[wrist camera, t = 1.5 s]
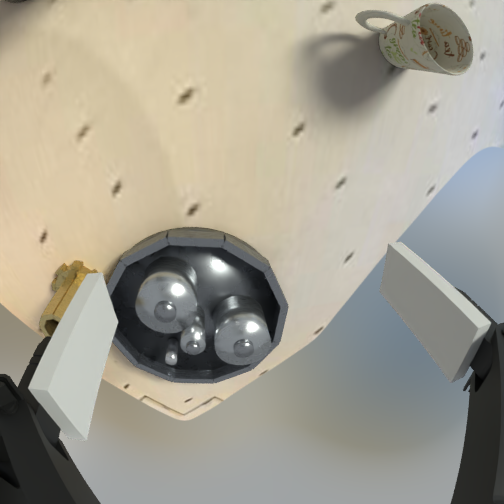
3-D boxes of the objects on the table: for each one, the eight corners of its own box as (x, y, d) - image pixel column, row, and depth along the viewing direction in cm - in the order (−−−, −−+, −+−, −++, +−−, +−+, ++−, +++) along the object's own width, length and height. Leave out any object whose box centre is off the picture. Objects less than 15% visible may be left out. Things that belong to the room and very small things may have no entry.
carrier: (87, 325, 40) (72, 363, 33) (160, 189, 33) (148, 212, 26) (219, 385, 49) (222, 422, 41) (314, 285, 42) (334, 320, 35)
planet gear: (51, 291, 36) (24, 333, 28) (65, 251, 34) (34, 290, 26) (94, 317, 39) (76, 363, 31) (113, 279, 37) (93, 325, 29)
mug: (419, 84, 31) (472, 86, 22) (336, 56, 29) (380, 42, 20) (423, 32, 27) (473, 23, 18) (341, -1, 25) (382, -27, 16)
